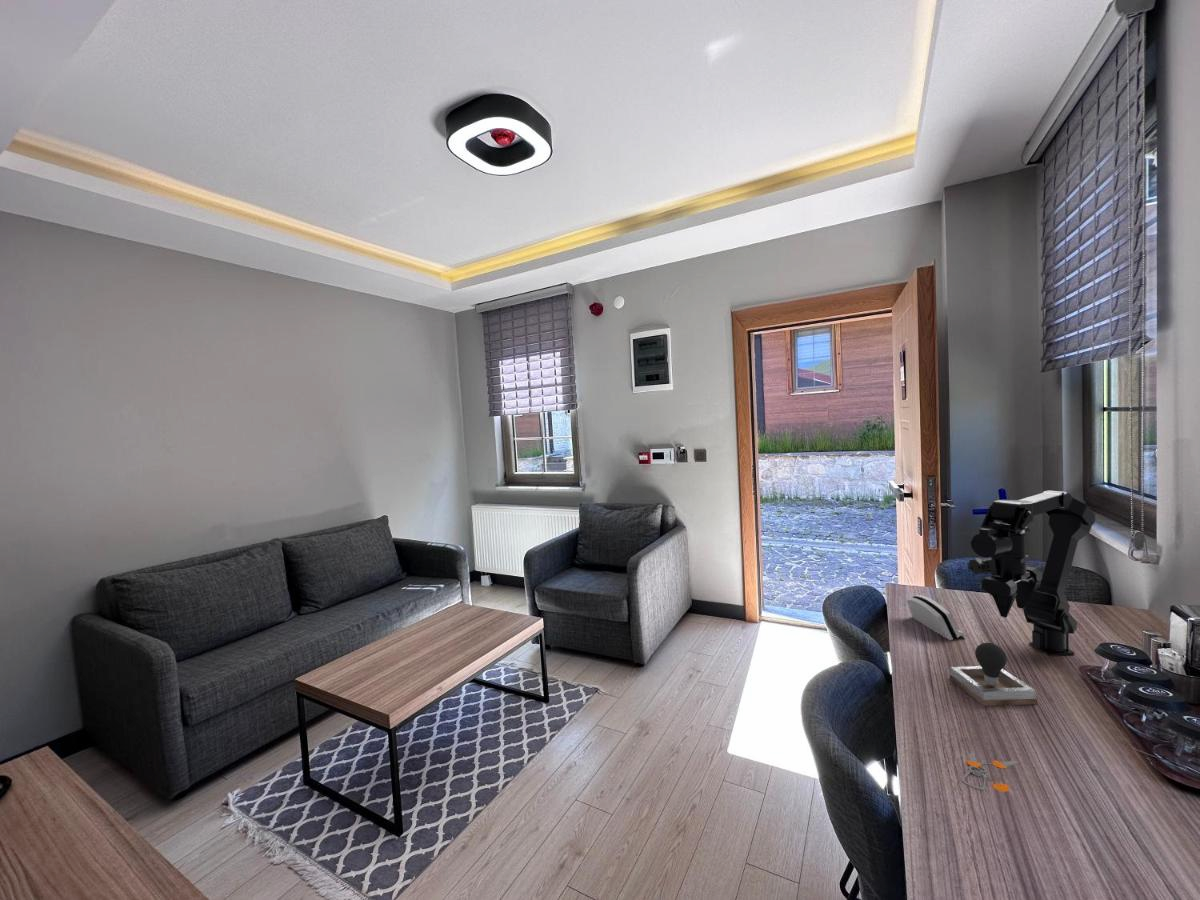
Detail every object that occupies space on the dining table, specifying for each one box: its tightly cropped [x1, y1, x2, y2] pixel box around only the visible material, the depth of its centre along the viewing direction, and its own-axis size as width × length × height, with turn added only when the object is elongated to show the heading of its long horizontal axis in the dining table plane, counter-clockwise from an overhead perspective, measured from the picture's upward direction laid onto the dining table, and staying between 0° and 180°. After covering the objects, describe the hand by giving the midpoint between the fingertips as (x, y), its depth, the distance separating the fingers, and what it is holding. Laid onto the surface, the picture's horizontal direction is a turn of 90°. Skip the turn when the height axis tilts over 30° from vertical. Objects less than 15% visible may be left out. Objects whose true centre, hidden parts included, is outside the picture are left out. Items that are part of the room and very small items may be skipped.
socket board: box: [949, 674, 1038, 707], centre depth 111 cm, size 11×11×1 cm
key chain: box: [960, 752, 1019, 793], centre depth 87 cm, size 13×7×1 cm, turn 130°
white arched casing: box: [906, 594, 967, 641], centre depth 144 cm, size 17×5×10 cm, turn 179°
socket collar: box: [950, 665, 1036, 701], centre depth 111 cm, size 11×11×2 cm
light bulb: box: [974, 642, 1007, 687], centre depth 111 cm, size 6×6×10 cm
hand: (1012, 612), depth 121 cm, fingers open, 9 cm apart
